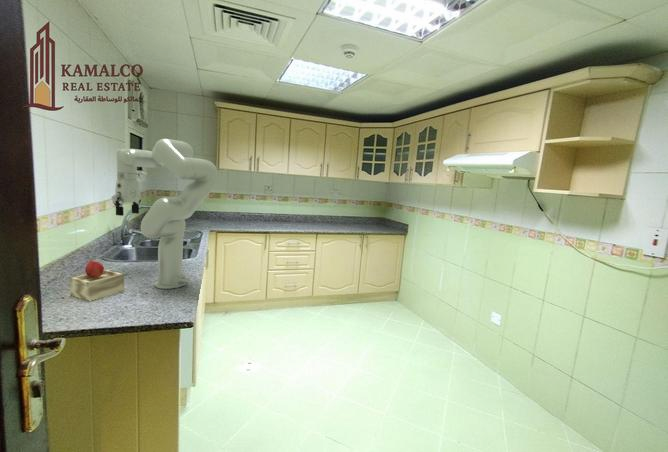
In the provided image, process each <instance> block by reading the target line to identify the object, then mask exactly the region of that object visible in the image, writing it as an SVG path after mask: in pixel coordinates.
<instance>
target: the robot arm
mask: <svg viewBox="0 0 668 452" xmlns="http://www.w3.org/2000/svg"><path fill="white" fill-rule="evenodd" d="M164 167H165V168H166V169H167V170H168V171H169V172H170V173H171V174H172V175H173V176H174V177H175V178H177V179H181V180H189V181H190V180H193V181H191V182H190V183H189V184H187V185H185V187H184V188H183V190H182V191H181V192H180V193H179V194H178V195H177V196H165V197H161V198H158V199H157V200H155V201H154V202H153V204H152V205H151V207H150V208H149V209H148V211H147V212H146V213H145V215H144V216H143V218H142V220H141V222H140V232H141V234H142V235H143V237H146V238H148V239H158V238H160V240H159V242H158V247H157V248H158V249H157V265H158V266H157V273H158V275H157V276H158V277H157V280H156V281H154V282H153V285H154V287H155V288H157V289H163V290H169V289H170V290H171V289H178V288H181V287H184V286H185V285H186V284H190V283H191V277H188V276H187V277H186V274H185V273H183V261H184V260H183V257H184V256H183V253H184V251H183V250H184V249H183V247H184V246H183V245H184V235H185V232H186V221H185V220H186V219H189V218H191V217H192V216H193V214H194V213H195V211H197V209H198V208H199V207H200V206H201V205H202V203H203V201H204V200H205V199H206V198H207V197H208V196H209V194H211V192H212V191H213V190H214V188H215V187H216V186H217V185H216V184H217V182H218V177H219V175H218V170H217V169H218V168H217V167H216V165H215V164H214V163H213V162H212V161H210V160H207V159H203V158H196V157H194V148H193V147H192V146H191V145H190V144H189V143H187V142H185V141H182V140H176V139H170V138H161V139H159V140H158V141H156V143H155V145H154V147H153V148H152V150H145V149H137V148H119V149H117V150H116V179H117V180H116V184H115V194H114V195H112V196H111V201H112V203H113V205H114V207H115V215H116V216H121V217H122V216H124V214H125V213H124V206H123V205H124V204H125V203H132V204H131V213H132V214H137V215H138V214H140V204H141V202H142V197H143V195H142V194H141V193H140V184H139V181H138V169H137V168H150V169H151V168H164Z"/></svg>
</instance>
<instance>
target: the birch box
mask: <svg viewBox="0 0 668 452" xmlns="http://www.w3.org/2000/svg"><path fill="white" fill-rule="evenodd" d="M69 284H70V287H69V288H70V296H71V295H72V296H71V297H74V296H75V297H74V298H77V297H78V299H81V298H82V300H84V299H85V300H84V301H87V300H89V301H88V302H92V300H93V301H95V299H96V300H99V298H100V299H103V298H106V297H109V296H112V295H115V294H119V293H122V292H125V274H124V273H121V272H117V271H114V270H108V269H104V271H103V273H102V275H101V276H100V277H99V278H96V277H90V276H88V275H87V274H86V273H84V274H81V275H76V276H71V277H69ZM102 297H103V298H102Z"/></svg>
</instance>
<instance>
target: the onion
mask: <svg viewBox="0 0 668 452" xmlns="http://www.w3.org/2000/svg"><path fill="white" fill-rule="evenodd" d="M84 270H85V274H87V275H88V276H90V277H96V278H99V277H100V276H101V275H102V273H103V271H104V270H105V266H104V264H102V263H101V262H98V261H94V260H93V259H90V260H89V262H88V263H87V264H86V267H85V269H84Z"/></svg>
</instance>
